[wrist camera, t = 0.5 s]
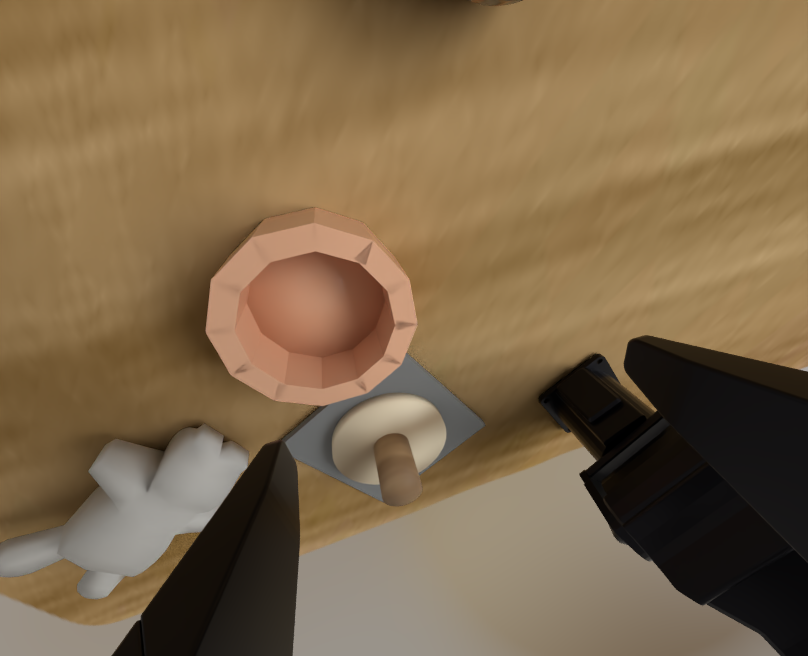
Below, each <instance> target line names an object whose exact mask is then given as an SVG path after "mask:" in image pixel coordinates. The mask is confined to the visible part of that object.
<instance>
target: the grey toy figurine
mask: <svg viewBox="0 0 808 656" xmlns="http://www.w3.org/2000/svg"><path fill="white" fill-rule="evenodd" d="M223 437H224V435H222V434H221V433H219V432H218V431H216V430H214V429H213V428H211V427H210V426H208V425H206V424H205V423H204V424H203V425H202V426H200V427H199V428H197V429H196V428H191V427H188V428H185V429H182V430H180V431H179V432H178V433H177V434H176V435H175V436H174V437H173V438H172V439H171V440H170V442H169V444H168V446H167V448H166V450H165V451H161V450H157V449H153V448H149V447H145V446H142V445H138V444H134V443H131V442H127V441H123V440H120V439H114V440H112V441H111V442H109V443H107V444H105V446H104V447H103V449H102V451H101V452H100V454H99V455H98V457H97V458H96V460H95V461H94V463H93V465H92V466H91V468H90V469H89V471H88V472H89V473H90V474H91V475H92V477H93V478H94V479H95V480H96V482H97V483H98V484H99V485H100V486H99V487H98V488H97V489H96V490H95V491H93V493H92V494H91V495H90V496H89V497H88V498H87V500H86V501H85V502H84V503H83V504H82V505H81V506H80V508H79V509H78V510H77V511H76V512H75V513H74V514H73V516H72V517H71V518H70V519H69V520H68V521H67V522H66V524H65V525H63V526H59V527H55V528H51V529H47V530H43V531H39V532H35V533H31V534H27V535H23V536H19V537H15V538H11V539H7V540H6V541H4V542H2V543H0V577H19V576H22V575H26V574H30V573H33V572H35V571H37V570H40V569H42V568H44V567H46V566H48V565H51V564H53V563H55V562H57V561H59V560H62V559H64V558H65V559H67V560H69V561H71V562H72V563H74V564H76V565H78V566H80V567H81V568H83V569H85V570H87V571H86V573H85V574H84V576H83V577H82V579H81V580H80V582H79V583H78V584H77V591H78V592H79V594H80V595H82V596H83V597H85V598H90V599H100V598H103V597H107V596H108V595H109V593H110V592H111V591H112V590H113V589H114V588H115V586H116V585H117V584H118V583H119V582H120V581H121V580H122V579H123V578H124V577H125V576H131V577H134V576H136V575H138V574H139V573H141V572H143V571H145V570H146V569H147V568H149V567H150V566H151V565H152V564H153V563H154V562H156V561H157V559H158V558H159V557H160V556H161V555H162V554H163V553H164V552H165V551H166V549H167V547H168V546H169V544H170V542H171V541H172V539H173V538H174V536H175V535H176V534H183V533H192V532H201V531H202V530H203V529H204V527H205V526H206V524H207V523H208V522H209V520H210V519H211V517H212V516H213V515H214V513H215V512H216V511H217V509H218V508H219V506H220V505H221V504H222V502H223V501H224V499H225V498H226V497H227V495H228V493H229V492H230V491H231V489H232V487H233V486H234V484H235V482H236V480H237V479H238V477H239V475H240V473H241V472H243V471H244V470H245V469H246V468H247V466H248V457H249V451H248V450H246V449H244V448H243V447H241V446H240V445H238V444H237V443H235V442H233V441H228V442H224V443H222V442H223Z"/></svg>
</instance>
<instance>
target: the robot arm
mask: <svg viewBox="0 0 808 656" xmlns="http://www.w3.org/2000/svg"><path fill="white" fill-rule="evenodd" d="M624 369H625V371H626V373H627V374H628V376H629V377H630V378H631V379H632V380H633V382H634V383H635V384H636V385H637V386H638V388H639V389H640V390H641V391H642V392H643V394H644V395H645V396H646V397H647V398H648V400H649V401H650V402H651V403H652V404H653V406H654V407H655V408H656V409H657V411H656V412H654V411H653V410H652V409H651V408H650V407H648V406H647V405H646V404H645V403H643V402H642V401H641V400H640V399H638V398H637V397H636V396H635V395H633V394H632V393H631V392H630V391H628V390H627V389H626V388H625V387H623V386H622V385H621V384H620V382H619V381H618V379H617V377H616V375H615V374H614V372H613V370H612V369H611V367H610V365H609V364H608V362H607V360H606V359H605V357H604V356H602V355H601V354H596V355H594V356H593V357H592V358H590V359H589V360H588V361H586V362H585V363H584V364H582V365H581V366H580V367H578V368H577V369H576V370H574V371H573V372H572V373H570V374H569V375H568V376H566V377H565V378H564V379H562V380H561V381H560V382H558V383H557V384H556V385H554V386H553V387H552V388H550V389H549V390H548V391H546V392H545V393H544V394H542V395H541V396H540V397H539V402H540V403H541V404H542V406H543V407H544V408H545V409H546V410H547V411H548V412H549V413H550V415H551V416H552V417H553V418H554V419H555V420H556V421H557V423H558V424H559V425H560V426H561V427H562V428H563V429H564V430H565V432H567V433H569V432H572V433H573V434H574V435H575V436H576V438H577V439H578V440H579V441H580V442H581V443H582V445H583V446H584V447H585V448H586V449H587V450H588V451H589V452H590V454H591V455H592V456H593V457H594V458H595V459H596V462H595V463H594V464H593V465H592V466H590V467H589V468H588V469H587V470H583V471H582V472H581V473H580V477H581V478H582V480H583V481H584V483H585V484H584V485H585V487H586V489H587V490H588V492H589V494H590V495H591V497H592V498H593V500H594V501H595V503H596V504H597V506H598V508H599V509H600V511H601V513H602V514H603V516H604V517H605V519H606V521H607V522H608V524H609V527H610V529H611V531H612V533H613V535H614V537H615V538H616V539H617V540H618V541H619V542H620V543H623V544H626V545H629V546H630V547H631V548H632V549H633V550H634V551H635V552H636V553H637V554H639V555H640V556H641V557H642V558H644V559H645V560H647V561H653V562H654V563H655V564H656V565H657V566H658V568H659V569H660V570H661V571H662V572H663V573H664V575H665V576H666V577H667V578H668V580H669V581H670V582H671V583H672V585H673V586H674V587H675V588H676V590H678V591H679V592H681V593H682V594H684V595H685V596H687V597H688V598H690V599H692V600H693V601H695V602H696V603H698V604H700V605H705V604H707V605H709V606H710V607H712V608H714V609H716V610H718V611H719V612H721V613H723V614H725V615H727V616H728V617H730V618H732V619H734V620H736V621H737V622H739V623H741V624H743V625H744V626H746V627H748V628H750V629H752V630H753V631H755V632H757V633H759V634H760V635H761V636H762V637H763V638H764V639H765V640H766V641H767V642H768V643H769V644H770V645H771V646H772V647H773V648H774V649H775V650H776V651H777V652H778V653H779V655H780V656H808V372H807V371H803V370H798V369H794V368H789V367H785V366H781V365H776V364H772V363H767V362H763V361H759V360H754V359H750V358H745V357H741V356H737V355H732V354H728V353H723V352H719V351H715V350H710V349H706V348H701V347H697V346H693V345H688V344H684V343H679V342H675V341H671V340H666V339H662V338H657V337H653V336H648V335H645V336H641V337H637V338H634V339H631V340H630V341H629V342H628V345H627V350H626V355H625V360H624ZM299 548H300V520H299V497H298V474H297V466H296V462H295V460H294V458H293V456H292V454H291V453H290V451H289V449H288V447H287V445H286V443H285V442H284V441H283V440H277V441H274V442H270V443H267V444H265V445H264V446H263V447H262V448H261V449H260V451H259V452H258V454H257V455H256V456H255V458H254V459H253V461H252V462H251V463H250V465H249V466H248V468H247V469H246V470H245V472H244V473H243V474H242V476H241V477H240V479H239V480H238V481H237V483H236V484H235V486H234V487H233V488H232V490H231V491H230V492H229V494H228V495H227V497H226V498H225V499H224V501H223V502H222V504H221V505H220V506H219V508H218V509H217V511H216V512H215V513H214V515H213V516H212V517H211V519H210V520H209V522H208V523H207V524H206V526H205V527H204V529H203V530H202V531H201V533H200V534H199V536H198V537H197V538H196V540H195V541H194V542H193V544H192V545H191V547H190V548H189V549H188V551H187V552H186V554H185V555H184V556H183V558H182V559H181V560H180V562H179V563H178V565H177V566H176V567H175V569H174V570H173V572H172V573H171V574H170V576H169V577H168V579H167V580H166V581H165V583H164V584H163V585H162V587H161V588H160V590H159V591H158V592H157V594H156V595H155V597H154V598H153V599H152V601H151V602H150V604H149V605H148V606H147V608H146V609H145V610H144V612H143V613H142V615H141V620H139V621H137V622H136V623H135V624H134V625H133V627H132V628H131V630H130V631H129V633H128V634H127V635H126V637H125V638H124V640H123V641H122V642H121V643H120V645H119V646H118V648H117V649H116V651H115V652H114V653H113V655H112V656H292V655H293V640H294V625H295V609H296V594H297V579H298V563H299V562H298V561H299Z"/></svg>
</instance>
